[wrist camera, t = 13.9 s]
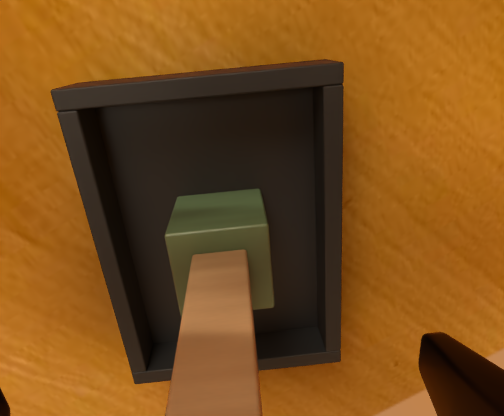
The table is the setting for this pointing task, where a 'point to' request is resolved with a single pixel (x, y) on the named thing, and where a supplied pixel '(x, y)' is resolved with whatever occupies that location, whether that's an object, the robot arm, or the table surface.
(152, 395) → the table surface
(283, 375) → the table surface
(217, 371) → the scrub brush
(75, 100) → the tray
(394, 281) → the table surface
